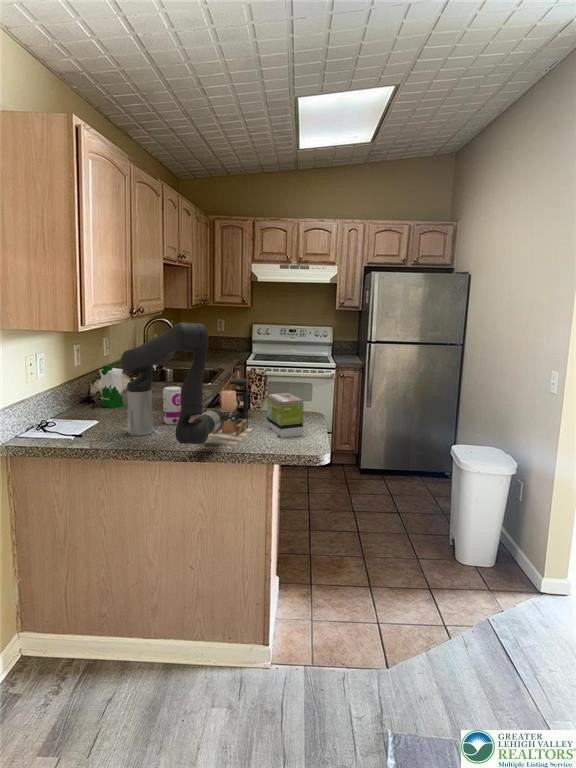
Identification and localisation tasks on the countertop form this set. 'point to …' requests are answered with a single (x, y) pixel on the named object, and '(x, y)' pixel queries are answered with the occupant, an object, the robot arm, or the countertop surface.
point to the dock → (230, 434)
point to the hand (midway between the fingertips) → (225, 411)
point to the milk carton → (111, 387)
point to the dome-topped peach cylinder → (229, 405)
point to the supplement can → (171, 404)
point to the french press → (246, 402)
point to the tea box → (285, 414)
